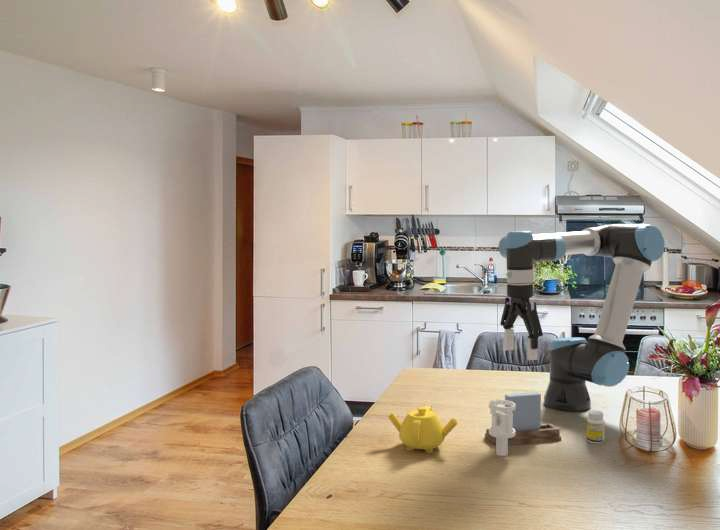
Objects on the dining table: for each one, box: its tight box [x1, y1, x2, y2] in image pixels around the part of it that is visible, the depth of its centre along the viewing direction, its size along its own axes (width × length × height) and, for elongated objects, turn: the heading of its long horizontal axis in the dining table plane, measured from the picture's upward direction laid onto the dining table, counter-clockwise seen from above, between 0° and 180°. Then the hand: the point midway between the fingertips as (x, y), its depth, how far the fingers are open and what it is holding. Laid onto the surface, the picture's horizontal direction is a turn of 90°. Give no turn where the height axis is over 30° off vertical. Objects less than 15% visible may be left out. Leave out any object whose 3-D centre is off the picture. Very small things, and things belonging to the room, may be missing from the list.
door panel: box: [504, 391, 542, 431], centre depth 179 cm, size 10×3×12 cm, turn 103°
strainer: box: [488, 399, 516, 457], centre depth 167 cm, size 7×7×15 cm
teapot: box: [387, 405, 458, 454], centre depth 173 cm, size 20×18×11 cm
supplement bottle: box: [586, 409, 605, 445], centre depth 176 cm, size 5×5×8 cm
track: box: [484, 423, 562, 446], centre depth 179 cm, size 20×8×3 cm, turn 103°
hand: (520, 354), depth 183 cm, fingers open, 13 cm apart
